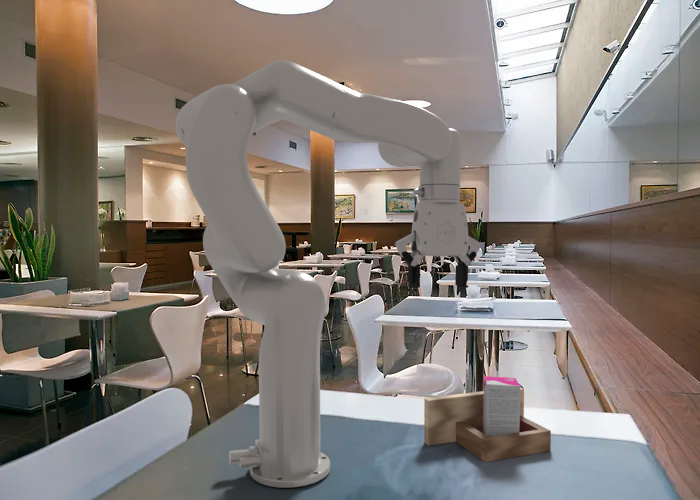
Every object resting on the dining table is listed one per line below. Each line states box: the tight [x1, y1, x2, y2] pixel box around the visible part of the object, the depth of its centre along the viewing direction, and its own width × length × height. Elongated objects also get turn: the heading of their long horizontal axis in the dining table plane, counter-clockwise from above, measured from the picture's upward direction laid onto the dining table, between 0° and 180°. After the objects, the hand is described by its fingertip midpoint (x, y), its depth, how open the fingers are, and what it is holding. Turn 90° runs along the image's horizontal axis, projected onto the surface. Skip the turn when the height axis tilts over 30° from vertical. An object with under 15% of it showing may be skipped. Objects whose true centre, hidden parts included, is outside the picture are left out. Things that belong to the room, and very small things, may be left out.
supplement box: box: [482, 375, 521, 437], centre depth 96 cm, size 6×6×12 cm
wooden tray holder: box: [423, 386, 552, 463], centre depth 96 cm, size 20×11×8 cm, turn 110°
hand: (438, 286), depth 103 cm, fingers open, 9 cm apart
